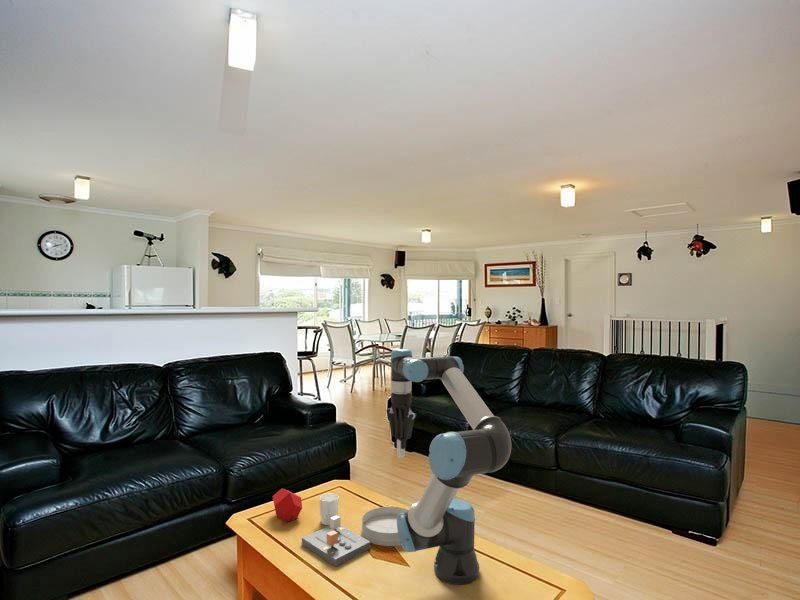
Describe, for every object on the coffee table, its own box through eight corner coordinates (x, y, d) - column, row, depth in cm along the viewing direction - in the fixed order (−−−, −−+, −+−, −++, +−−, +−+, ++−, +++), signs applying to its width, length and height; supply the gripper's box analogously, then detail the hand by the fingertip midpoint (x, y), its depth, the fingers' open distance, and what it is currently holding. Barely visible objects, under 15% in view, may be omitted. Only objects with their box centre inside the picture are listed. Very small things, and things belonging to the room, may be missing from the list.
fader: (337, 546, 166) (337, 532, 166) (330, 549, 164) (330, 535, 164) (333, 543, 168) (333, 530, 168) (326, 546, 165) (326, 533, 165)
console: (370, 548, 170) (370, 540, 169) (335, 566, 158) (335, 557, 158) (335, 529, 183) (335, 521, 183) (301, 544, 172) (301, 536, 172)
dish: (351, 540, 176) (352, 527, 175) (373, 514, 196) (373, 503, 196) (407, 551, 168) (407, 537, 168) (424, 523, 189) (424, 511, 189)
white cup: (340, 517, 193) (340, 493, 193) (336, 526, 185) (336, 501, 185) (322, 516, 194) (322, 492, 194) (316, 525, 186) (317, 500, 186)
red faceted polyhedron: (277, 531, 185) (262, 506, 196) (304, 523, 193) (288, 500, 204) (284, 506, 183) (268, 482, 193) (310, 499, 191) (294, 477, 201)
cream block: (340, 529, 178) (340, 517, 178) (333, 532, 175) (333, 520, 175) (336, 527, 179) (336, 515, 179) (329, 530, 177) (329, 517, 177)
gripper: (421, 392, 166) (421, 458, 166) (395, 388, 175) (394, 450, 175) (407, 396, 161) (407, 464, 161) (381, 390, 169) (380, 455, 169)
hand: (400, 456), depth 168 cm, fingers closed
